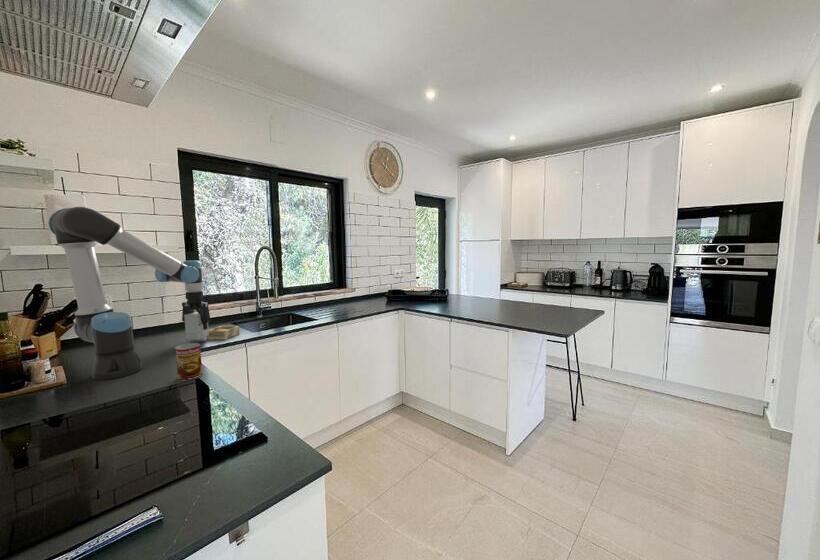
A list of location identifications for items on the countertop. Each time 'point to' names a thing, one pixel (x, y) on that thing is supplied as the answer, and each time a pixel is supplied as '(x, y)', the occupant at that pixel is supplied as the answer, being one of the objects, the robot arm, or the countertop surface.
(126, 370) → the robot arm
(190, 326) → the supplement box
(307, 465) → the countertop surface
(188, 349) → the canned food
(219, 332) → the display pedestal
